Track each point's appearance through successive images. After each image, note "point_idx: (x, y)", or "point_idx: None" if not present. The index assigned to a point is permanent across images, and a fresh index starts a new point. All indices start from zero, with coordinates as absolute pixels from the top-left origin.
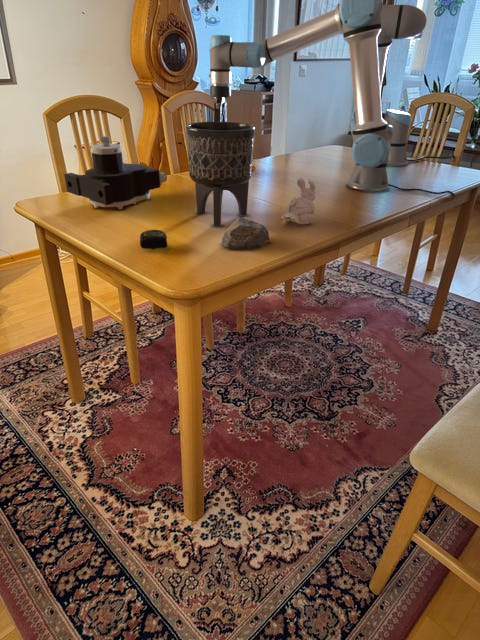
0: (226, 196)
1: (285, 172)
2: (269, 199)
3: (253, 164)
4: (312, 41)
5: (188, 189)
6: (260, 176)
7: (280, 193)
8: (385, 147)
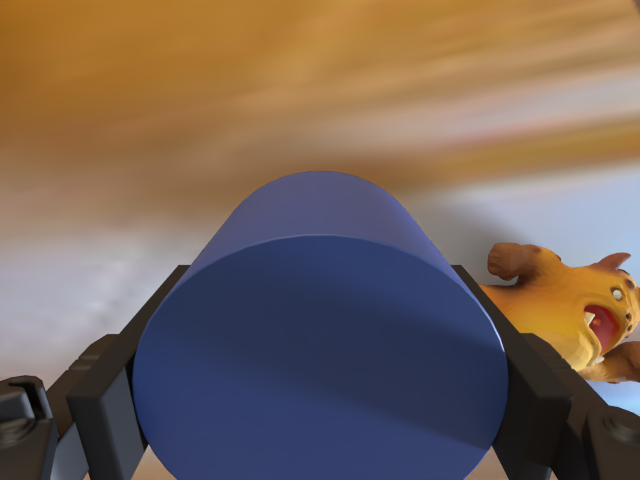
0: (16, 288)
1: (552, 476)
2: None
3: (587, 379)
4: None
5: (58, 55)
6: None
7: (162, 473)
8: None
